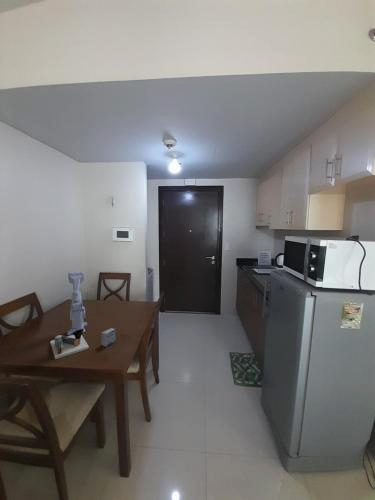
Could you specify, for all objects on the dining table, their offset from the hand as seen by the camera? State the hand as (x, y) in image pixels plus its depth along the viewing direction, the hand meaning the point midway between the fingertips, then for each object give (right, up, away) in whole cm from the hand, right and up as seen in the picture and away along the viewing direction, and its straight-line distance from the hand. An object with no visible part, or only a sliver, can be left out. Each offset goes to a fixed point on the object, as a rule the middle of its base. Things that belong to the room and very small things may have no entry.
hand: (78, 340), depth 139 cm
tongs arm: (-6, -1, -3) cm, 6 cm away
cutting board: (-5, -3, -2) cm, 6 cm away
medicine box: (+19, -3, +1) cm, 20 cm away
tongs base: (-8, -1, -6) cm, 10 cm away
